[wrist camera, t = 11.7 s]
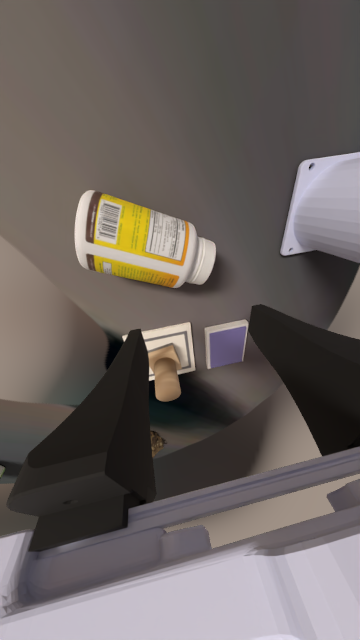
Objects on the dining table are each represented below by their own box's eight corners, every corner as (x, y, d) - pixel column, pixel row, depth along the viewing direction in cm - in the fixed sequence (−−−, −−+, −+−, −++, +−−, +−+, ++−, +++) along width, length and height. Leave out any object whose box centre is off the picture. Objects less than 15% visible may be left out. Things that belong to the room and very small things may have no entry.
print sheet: (189, 322, 23) (190, 323, 23) (194, 368, 29) (195, 370, 29) (122, 335, 23) (122, 337, 22) (141, 380, 29) (141, 382, 28)
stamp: (172, 342, 25) (179, 379, 20) (180, 360, 27) (188, 397, 22) (145, 351, 25) (146, 390, 20) (155, 368, 27) (158, 406, 22)
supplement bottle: (91, 255, 17) (189, 278, 20) (72, 279, 12) (201, 305, 16) (93, 185, 14) (208, 226, 17) (69, 185, 9) (230, 240, 13)
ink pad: (245, 319, 25) (249, 324, 24) (240, 356, 30) (243, 362, 29) (204, 327, 24) (207, 333, 23) (206, 364, 29) (208, 370, 28)
